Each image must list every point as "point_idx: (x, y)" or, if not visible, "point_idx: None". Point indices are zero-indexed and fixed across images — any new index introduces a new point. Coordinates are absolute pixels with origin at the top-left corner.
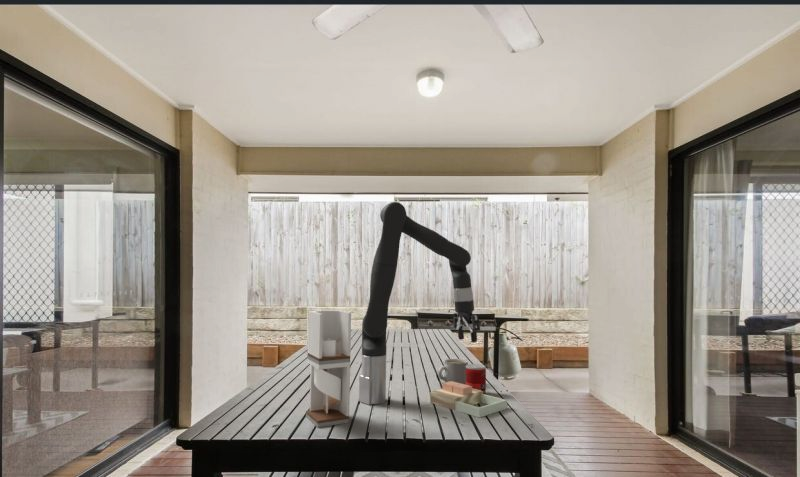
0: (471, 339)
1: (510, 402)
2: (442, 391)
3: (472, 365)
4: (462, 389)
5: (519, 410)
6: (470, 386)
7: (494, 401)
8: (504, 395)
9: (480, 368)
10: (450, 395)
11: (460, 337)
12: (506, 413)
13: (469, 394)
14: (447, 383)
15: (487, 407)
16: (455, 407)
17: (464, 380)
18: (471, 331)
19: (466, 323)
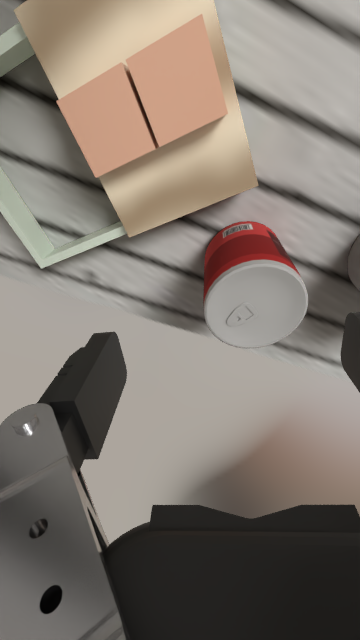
0: (100, 344)
1: (115, 302)
2: (167, 4)
3: (290, 309)
4: (63, 99)
5: (35, 281)
6: (92, 167)
7: (78, 241)
8: (188, 326)
9: (204, 306)
10: (77, 17)
11: (357, 334)
12: (4, 229)
13: None
14: (181, 51)
15: None
16: None
17: (357, 277)
18: (16, 414)
19: (34, 564)
